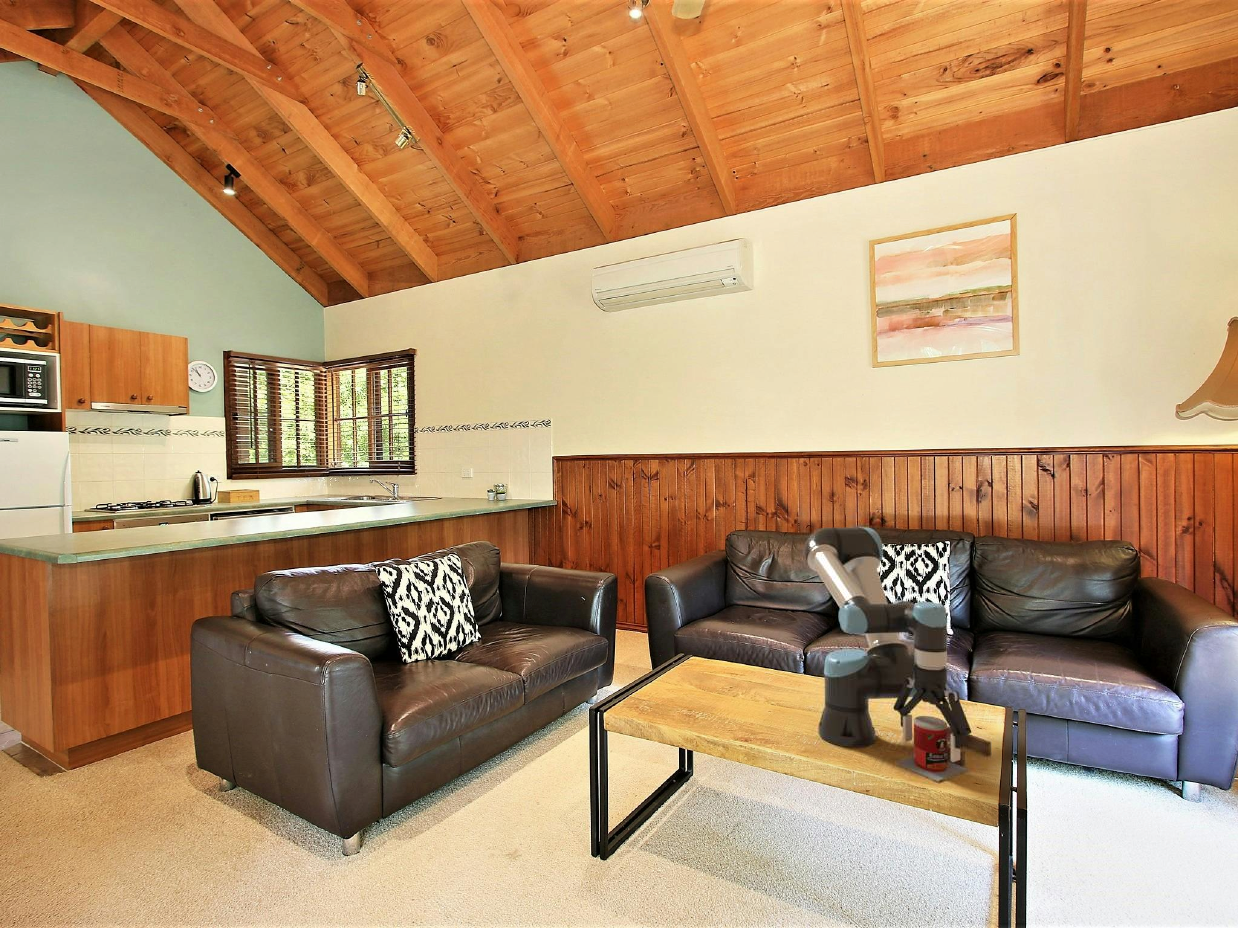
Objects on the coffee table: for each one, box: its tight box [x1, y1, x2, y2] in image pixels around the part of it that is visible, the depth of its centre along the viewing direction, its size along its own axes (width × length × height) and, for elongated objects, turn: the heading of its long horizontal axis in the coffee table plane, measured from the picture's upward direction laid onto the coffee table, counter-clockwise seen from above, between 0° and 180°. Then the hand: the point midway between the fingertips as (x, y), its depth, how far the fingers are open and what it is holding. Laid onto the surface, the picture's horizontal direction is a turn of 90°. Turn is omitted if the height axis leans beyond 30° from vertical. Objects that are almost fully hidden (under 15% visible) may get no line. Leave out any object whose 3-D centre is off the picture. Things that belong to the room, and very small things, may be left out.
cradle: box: [947, 726, 992, 767], centre depth 178 cm, size 12×12×4 cm
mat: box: [894, 754, 969, 783], centre depth 170 cm, size 12×12×1 cm
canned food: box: [913, 715, 949, 772], centre depth 170 cm, size 8×8×11 cm
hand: (930, 750), depth 170 cm, fingers open, 13 cm apart
